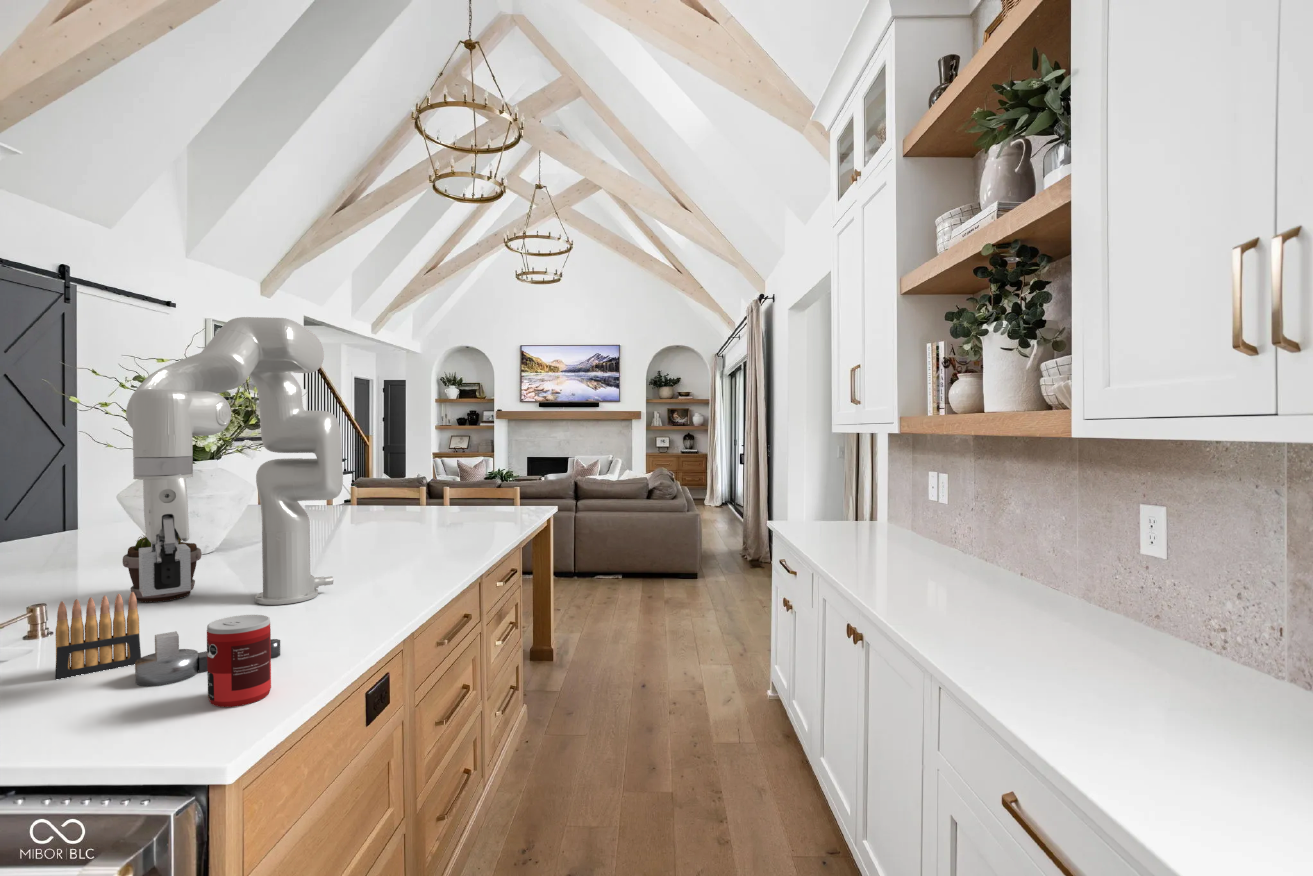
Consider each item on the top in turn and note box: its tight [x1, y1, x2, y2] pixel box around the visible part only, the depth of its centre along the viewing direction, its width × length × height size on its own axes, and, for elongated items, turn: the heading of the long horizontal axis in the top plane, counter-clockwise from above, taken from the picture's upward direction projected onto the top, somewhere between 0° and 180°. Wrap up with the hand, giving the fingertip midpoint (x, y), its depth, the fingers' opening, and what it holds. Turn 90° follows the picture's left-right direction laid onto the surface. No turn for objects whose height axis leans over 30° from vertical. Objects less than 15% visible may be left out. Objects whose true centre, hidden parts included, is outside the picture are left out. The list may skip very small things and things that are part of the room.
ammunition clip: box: [54, 591, 142, 680], centre depth 110 cm, size 11×2×12 cm, turn 133°
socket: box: [139, 544, 192, 597], centre depth 107 cm, size 6×6×7 cm
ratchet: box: [134, 630, 281, 687], centre depth 111 cm, size 20×8×6 cm, turn 131°
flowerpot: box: [122, 533, 202, 603], centre depth 156 cm, size 14×15×20 cm
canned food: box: [206, 614, 272, 708], centre depth 99 cm, size 8×8×11 cm
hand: (165, 583), depth 107 cm, fingers closed on socket, 6 cm apart
